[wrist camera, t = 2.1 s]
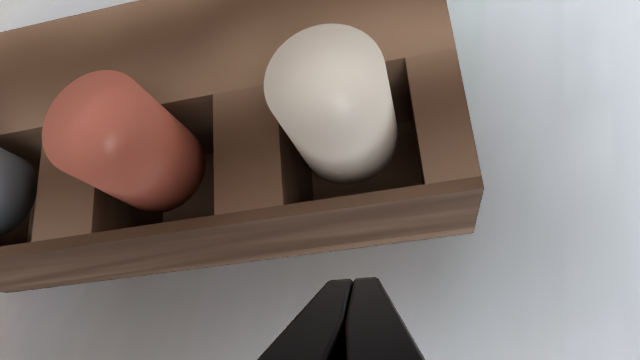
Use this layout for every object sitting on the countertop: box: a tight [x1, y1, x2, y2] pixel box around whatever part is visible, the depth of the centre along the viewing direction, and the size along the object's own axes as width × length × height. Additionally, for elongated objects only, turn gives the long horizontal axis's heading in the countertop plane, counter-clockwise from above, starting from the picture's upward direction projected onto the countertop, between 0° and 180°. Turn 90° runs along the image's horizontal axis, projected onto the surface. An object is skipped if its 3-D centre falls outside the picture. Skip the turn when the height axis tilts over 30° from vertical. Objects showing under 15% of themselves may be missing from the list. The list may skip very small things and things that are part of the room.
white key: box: [264, 23, 398, 185], centre depth 16 cm, size 3×3×4 cm
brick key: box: [42, 70, 206, 213], centre depth 17 cm, size 3×3×4 cm
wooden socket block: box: [0, 0, 484, 293], centre depth 22 cm, size 10×22×6 cm, turn 95°
